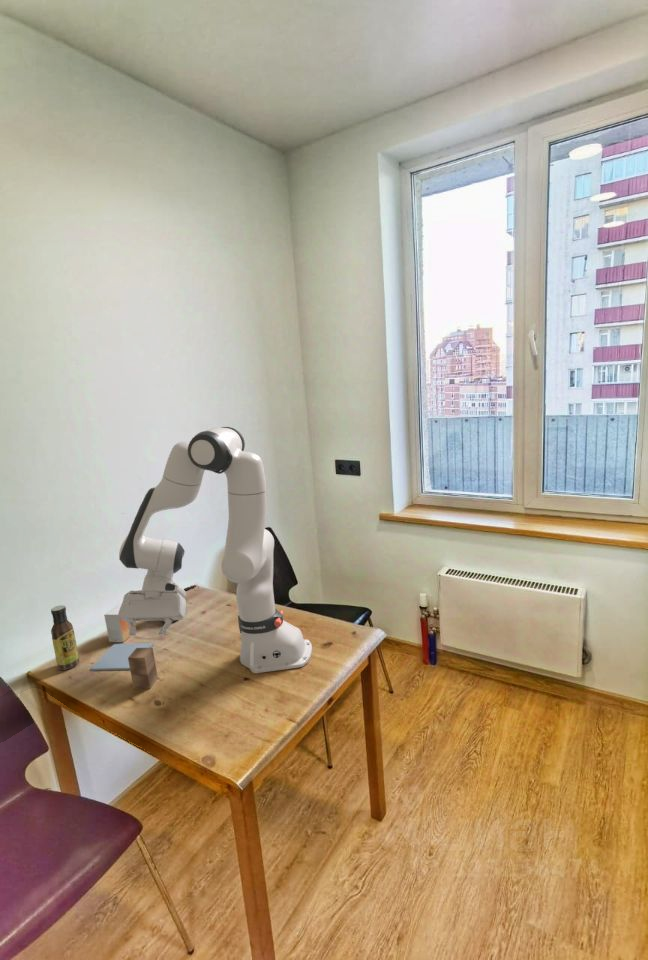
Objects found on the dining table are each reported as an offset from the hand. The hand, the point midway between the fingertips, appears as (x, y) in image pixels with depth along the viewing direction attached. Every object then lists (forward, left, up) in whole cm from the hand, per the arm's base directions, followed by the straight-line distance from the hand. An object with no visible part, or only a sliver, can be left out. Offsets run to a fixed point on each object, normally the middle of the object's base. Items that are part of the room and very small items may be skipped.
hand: (146, 634), depth 140 cm
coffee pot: (+5, -33, -13) cm, 35 cm away
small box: (+22, -22, -13) cm, 33 cm away
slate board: (+15, -9, -12) cm, 21 cm away
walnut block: (0, +5, -13) cm, 14 cm away
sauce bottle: (+31, -5, -13) cm, 34 cm away
